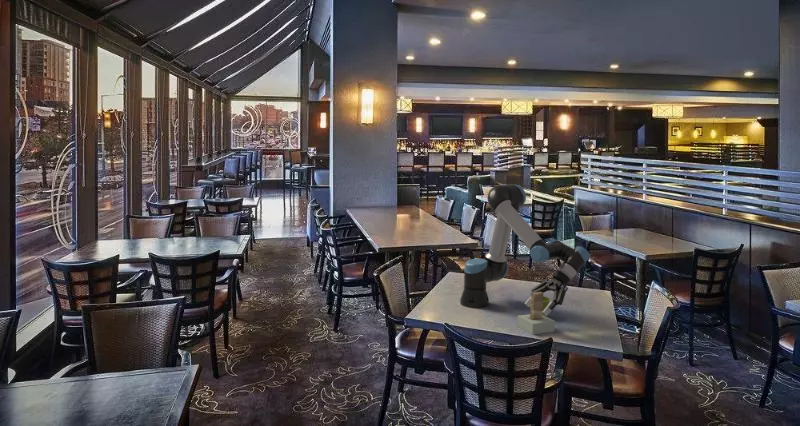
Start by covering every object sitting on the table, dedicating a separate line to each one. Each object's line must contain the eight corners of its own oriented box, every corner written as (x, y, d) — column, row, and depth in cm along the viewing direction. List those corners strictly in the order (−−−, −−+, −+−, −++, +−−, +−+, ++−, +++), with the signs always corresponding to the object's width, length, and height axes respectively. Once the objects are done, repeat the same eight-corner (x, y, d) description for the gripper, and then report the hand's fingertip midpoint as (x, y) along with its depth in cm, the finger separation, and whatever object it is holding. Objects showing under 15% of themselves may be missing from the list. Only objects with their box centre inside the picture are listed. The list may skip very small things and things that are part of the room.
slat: (529, 326, 246) (531, 292, 244) (538, 325, 248) (540, 291, 246) (532, 328, 243) (534, 294, 241) (541, 326, 245) (543, 293, 243)
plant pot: (546, 319, 259) (547, 302, 258) (527, 316, 264) (528, 299, 263) (551, 314, 267) (552, 297, 266) (533, 311, 272) (534, 294, 271)
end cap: (516, 326, 249) (517, 315, 248) (538, 323, 253) (538, 313, 253) (532, 334, 238) (532, 323, 237) (554, 331, 242) (555, 320, 242)
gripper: (586, 286, 237) (557, 323, 234) (551, 274, 260) (524, 306, 257) (577, 276, 235) (547, 312, 231) (543, 264, 258) (515, 297, 254)
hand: (535, 309), depth 244 cm, fingers open, 13 cm apart
